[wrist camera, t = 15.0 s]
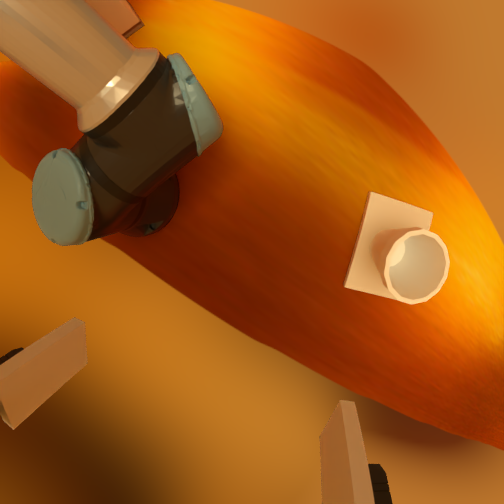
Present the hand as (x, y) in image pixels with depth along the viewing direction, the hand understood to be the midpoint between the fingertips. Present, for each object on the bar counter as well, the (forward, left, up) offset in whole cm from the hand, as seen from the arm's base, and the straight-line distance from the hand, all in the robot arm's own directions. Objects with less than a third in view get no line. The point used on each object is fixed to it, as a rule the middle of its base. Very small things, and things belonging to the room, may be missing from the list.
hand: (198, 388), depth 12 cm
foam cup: (+19, +5, -35) cm, 41 cm away
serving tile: (+20, +5, -37) cm, 42 cm away
